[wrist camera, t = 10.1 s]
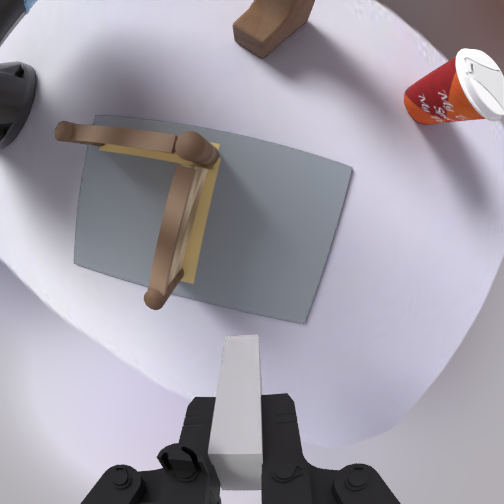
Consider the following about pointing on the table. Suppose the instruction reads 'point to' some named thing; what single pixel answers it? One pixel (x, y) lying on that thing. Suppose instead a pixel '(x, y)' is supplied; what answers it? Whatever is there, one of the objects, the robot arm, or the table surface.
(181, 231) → the fence gate
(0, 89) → the robot arm
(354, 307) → the table surface
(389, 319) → the table surface
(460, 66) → the paper cup
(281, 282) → the card
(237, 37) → the wooden block
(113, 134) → the fence fixed
